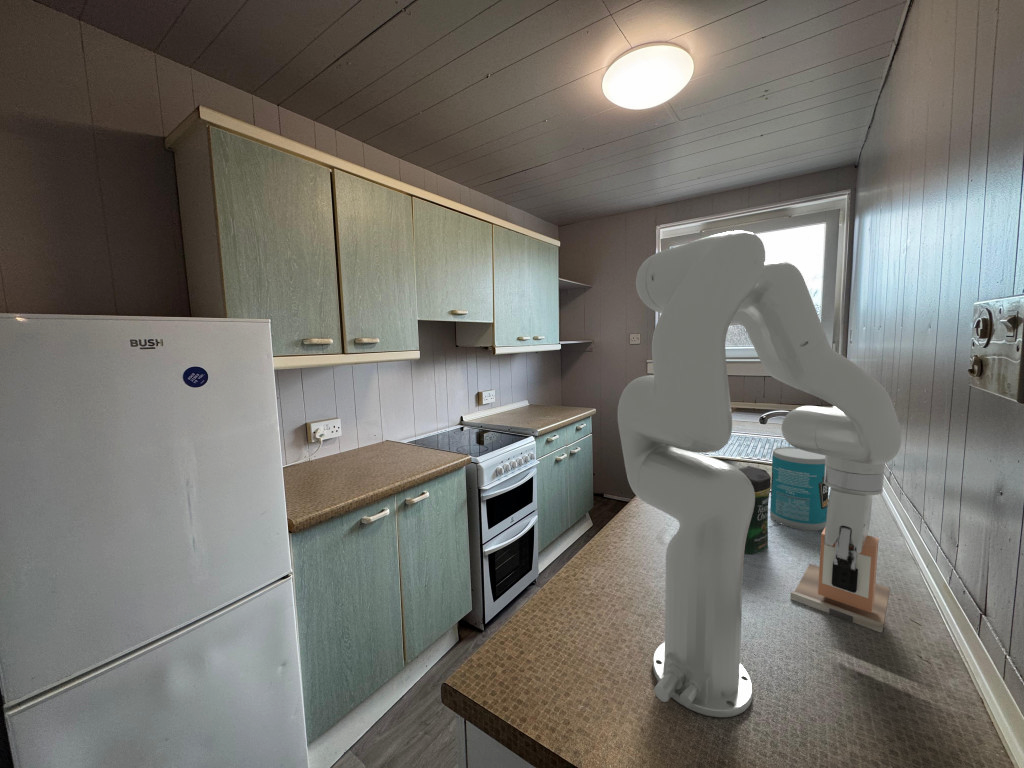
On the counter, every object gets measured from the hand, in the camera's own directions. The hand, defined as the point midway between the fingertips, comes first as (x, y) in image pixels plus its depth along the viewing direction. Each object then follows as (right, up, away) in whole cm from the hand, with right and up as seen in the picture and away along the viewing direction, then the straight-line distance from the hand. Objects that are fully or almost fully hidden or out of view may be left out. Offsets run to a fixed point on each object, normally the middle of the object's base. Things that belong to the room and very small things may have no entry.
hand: (846, 580), depth 69 cm
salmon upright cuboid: (0, -3, 0) cm, 3 cm away
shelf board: (+2, -5, +4) cm, 7 cm away
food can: (+17, -2, +36) cm, 40 cm away
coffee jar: (-5, -4, +22) cm, 23 cm away
